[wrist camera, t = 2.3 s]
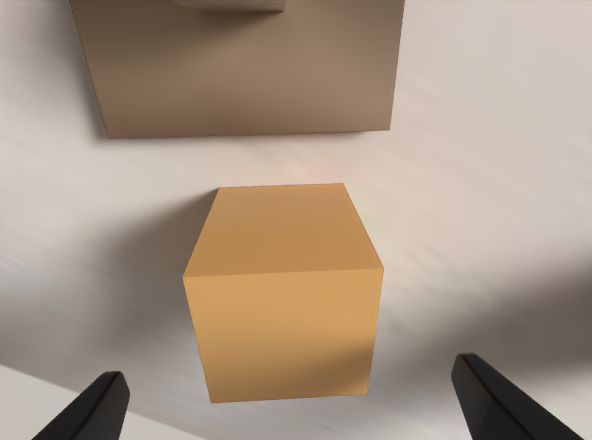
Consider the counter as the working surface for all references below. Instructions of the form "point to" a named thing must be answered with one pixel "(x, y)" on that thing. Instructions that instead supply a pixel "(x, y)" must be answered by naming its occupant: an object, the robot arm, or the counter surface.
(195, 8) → the grey concrete cube
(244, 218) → the tan wooden cube
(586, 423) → the counter surface
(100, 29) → the walnut base
